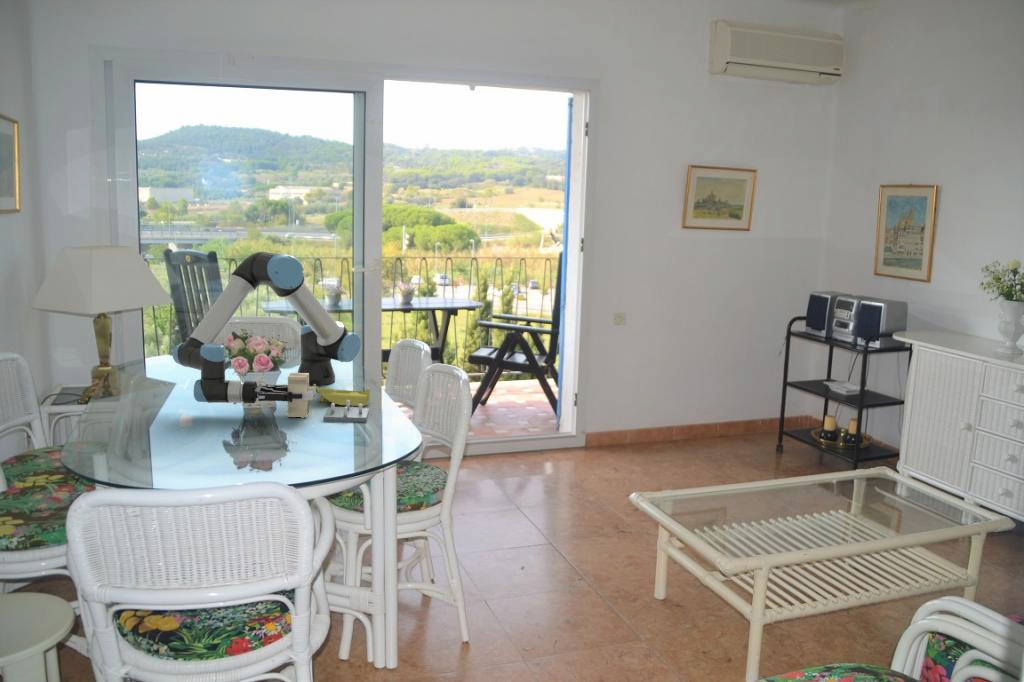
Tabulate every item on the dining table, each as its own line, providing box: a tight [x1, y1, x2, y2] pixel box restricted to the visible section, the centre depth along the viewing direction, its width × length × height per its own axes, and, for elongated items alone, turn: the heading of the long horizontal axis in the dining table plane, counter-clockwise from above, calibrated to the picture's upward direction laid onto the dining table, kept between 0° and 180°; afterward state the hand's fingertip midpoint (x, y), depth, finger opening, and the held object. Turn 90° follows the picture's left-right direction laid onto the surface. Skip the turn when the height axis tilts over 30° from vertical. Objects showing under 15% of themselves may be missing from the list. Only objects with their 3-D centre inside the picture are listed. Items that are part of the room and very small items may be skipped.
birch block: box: [287, 372, 310, 419], centre depth 274 cm, size 6×6×14 cm
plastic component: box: [312, 384, 371, 407], centre depth 295 cm, size 20×7×10 cm
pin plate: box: [323, 400, 370, 423], centre depth 277 cm, size 12×14×4 cm
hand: (314, 393), depth 275 cm, fingers closed on birch block, 6 cm apart
